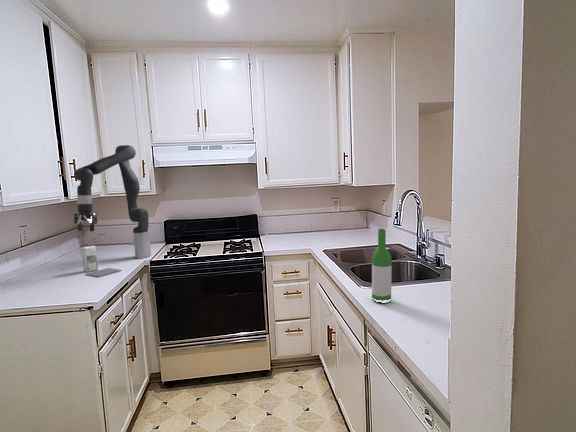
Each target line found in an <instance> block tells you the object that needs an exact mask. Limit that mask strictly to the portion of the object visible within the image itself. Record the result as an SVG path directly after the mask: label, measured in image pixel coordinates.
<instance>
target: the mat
mask: <svg viewBox="0 0 576 432" xmlns="http://www.w3.org/2000/svg"><path fill="white" fill-rule="evenodd" d="M121 271H122V269H118V268H112V267H107V268H103V269H100V270H96V271H92V272H86V273H84V274H85V276H88V275H89V277H94V278H101V277H105V276H109V275H112V274H116V273H119V272H121Z"/></svg>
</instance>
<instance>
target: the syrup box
mask: <svg viewBox="0 0 576 432" xmlns="http://www.w3.org/2000/svg"><path fill="white" fill-rule="evenodd" d="M81 254H82V255H81V256H82V264H83V265H82V266H83V272H86V273H91V272H95V271H98V269H99V268H98V255H97V247H96V246H95V245H87V246H82V247H81Z"/></svg>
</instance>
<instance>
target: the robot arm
mask: <svg viewBox="0 0 576 432" xmlns="http://www.w3.org/2000/svg"><path fill="white" fill-rule="evenodd" d="M114 151H115V152H114V153H113V154H111V155H108V156H105V157H102V158H99V159H97V160H95V161H93V162H92V163H90V164H87V165H84V166H81V167H79V168H77V169H76V170H75V171H74V173H73V176H74V178H75V180H77V181H79V182H80V184H79V185H78V186H77V189H76V193H77V197H76V204H77V205H76V206H77V207H76V208H77V212H75V213H74V215H73V217H74V219H73V221H74V224H76V225H77V231H78V232H83V222H87V223H88V224H89V232H94V231H95V225H96V224H98V218H97V216H98V215H97V213H93V209H94V208H93V197H92V185H93V181H94V175H99V174H101V173H103V172H105V171H106V170H109V169H111V168H113V167H114V166H116V165H118V166H119V169H120V175H121V178H122V182H123V183H122V184H123V188H124V192H125V196H126V202H127V210H128V218H129V220H130V221H131V222H133V223H137V226H136V227H134V228H133V229H132V232H133V233H132V234H133V246H134V247H133V248H134V258H135V259H145V258H146V259H147V258H149V257H151V255H152V254H151V253H152V252H151V242H150V241H149V227H150V226H149V212H148V210H147V209H146V208H138V204H137V200H138V199H137V198H138V196H139V194H140V189H141V188H140V182H139V178H138V177H137V175H136V173H135V172H134V170H133V169H132V166H131V163H130V160H132V159H134V158H135V157H136V154H137V151H136V149H135V147H134V146H132V145H127V144H123V145H117V147H116V148H115V150H114Z"/></svg>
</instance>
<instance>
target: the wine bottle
mask: <svg viewBox="0 0 576 432" xmlns="http://www.w3.org/2000/svg"><path fill="white" fill-rule="evenodd" d="M386 247H387V245H386V229H385V228H379V229H378V230H377V249H375V250H374V251H373V253H372V257H371V299H372V298H374V299H376V300H382V301H383V300H389V299H391V300H392V255H391V252H390V251H389V250H388V249H387V248H386Z"/></svg>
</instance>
